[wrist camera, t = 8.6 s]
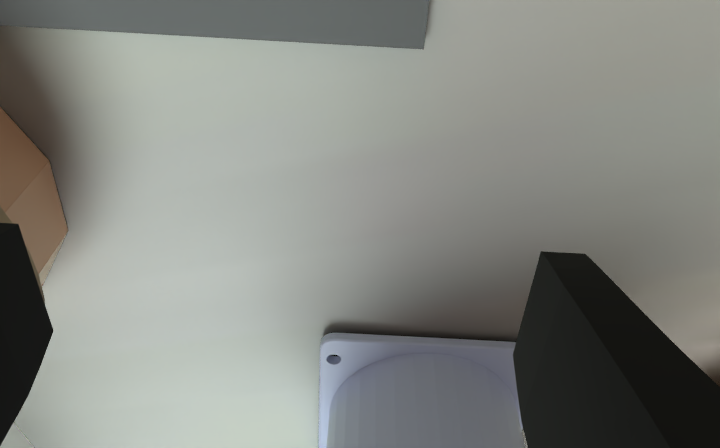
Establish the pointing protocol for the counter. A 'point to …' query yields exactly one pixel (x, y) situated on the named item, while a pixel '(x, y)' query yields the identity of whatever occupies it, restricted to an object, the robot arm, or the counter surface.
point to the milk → (15, 439)
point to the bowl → (30, 195)
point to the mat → (236, 19)
